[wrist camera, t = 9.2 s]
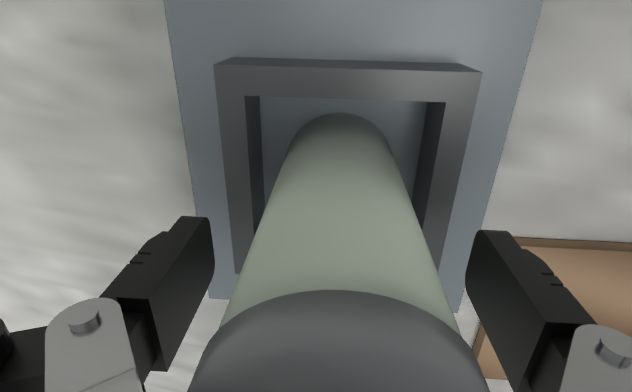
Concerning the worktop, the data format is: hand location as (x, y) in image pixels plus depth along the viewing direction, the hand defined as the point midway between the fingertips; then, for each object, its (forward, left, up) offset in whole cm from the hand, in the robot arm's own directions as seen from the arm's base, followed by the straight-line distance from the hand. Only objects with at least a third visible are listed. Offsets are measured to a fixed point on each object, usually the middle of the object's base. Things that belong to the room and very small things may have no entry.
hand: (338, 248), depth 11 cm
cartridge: (0, 0, -6) cm, 6 cm away
